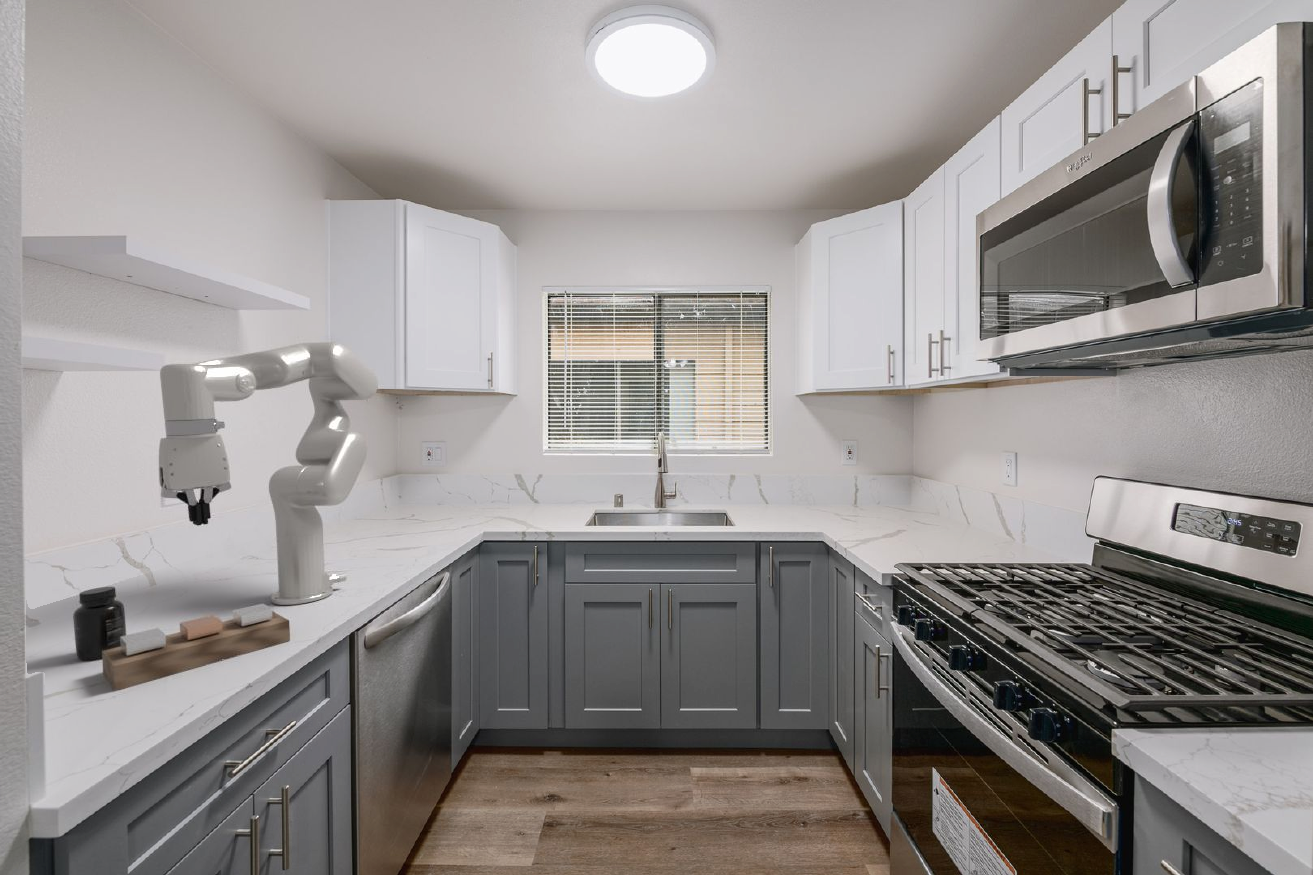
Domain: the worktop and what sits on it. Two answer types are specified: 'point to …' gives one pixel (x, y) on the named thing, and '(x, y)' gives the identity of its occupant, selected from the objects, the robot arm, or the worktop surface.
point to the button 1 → (142, 641)
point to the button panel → (192, 651)
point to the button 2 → (252, 614)
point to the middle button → (200, 627)
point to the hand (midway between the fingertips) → (200, 523)
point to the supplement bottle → (98, 623)
